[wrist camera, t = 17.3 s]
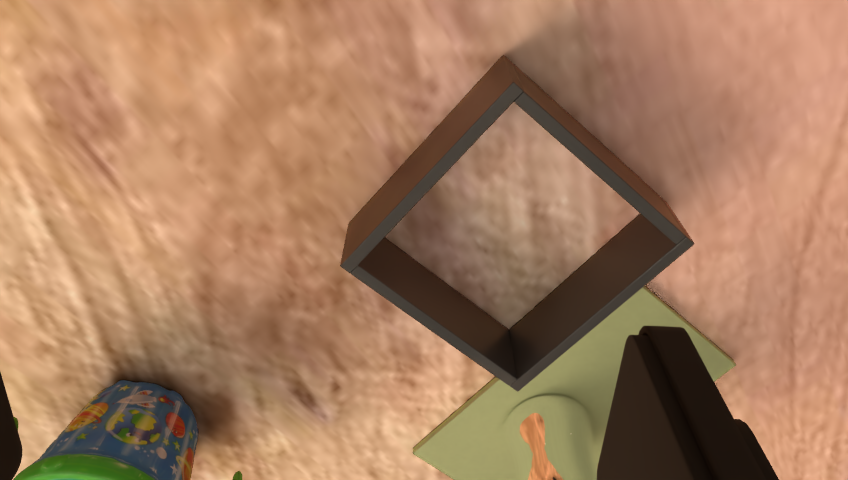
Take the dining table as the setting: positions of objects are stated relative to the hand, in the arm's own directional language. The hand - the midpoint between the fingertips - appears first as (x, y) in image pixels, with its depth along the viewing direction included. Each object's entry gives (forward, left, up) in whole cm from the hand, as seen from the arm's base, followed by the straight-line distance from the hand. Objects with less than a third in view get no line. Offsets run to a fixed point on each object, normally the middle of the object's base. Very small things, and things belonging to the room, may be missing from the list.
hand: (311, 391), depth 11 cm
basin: (+5, +13, -30) cm, 33 cm away
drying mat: (+13, +27, -30) cm, 42 cm away
